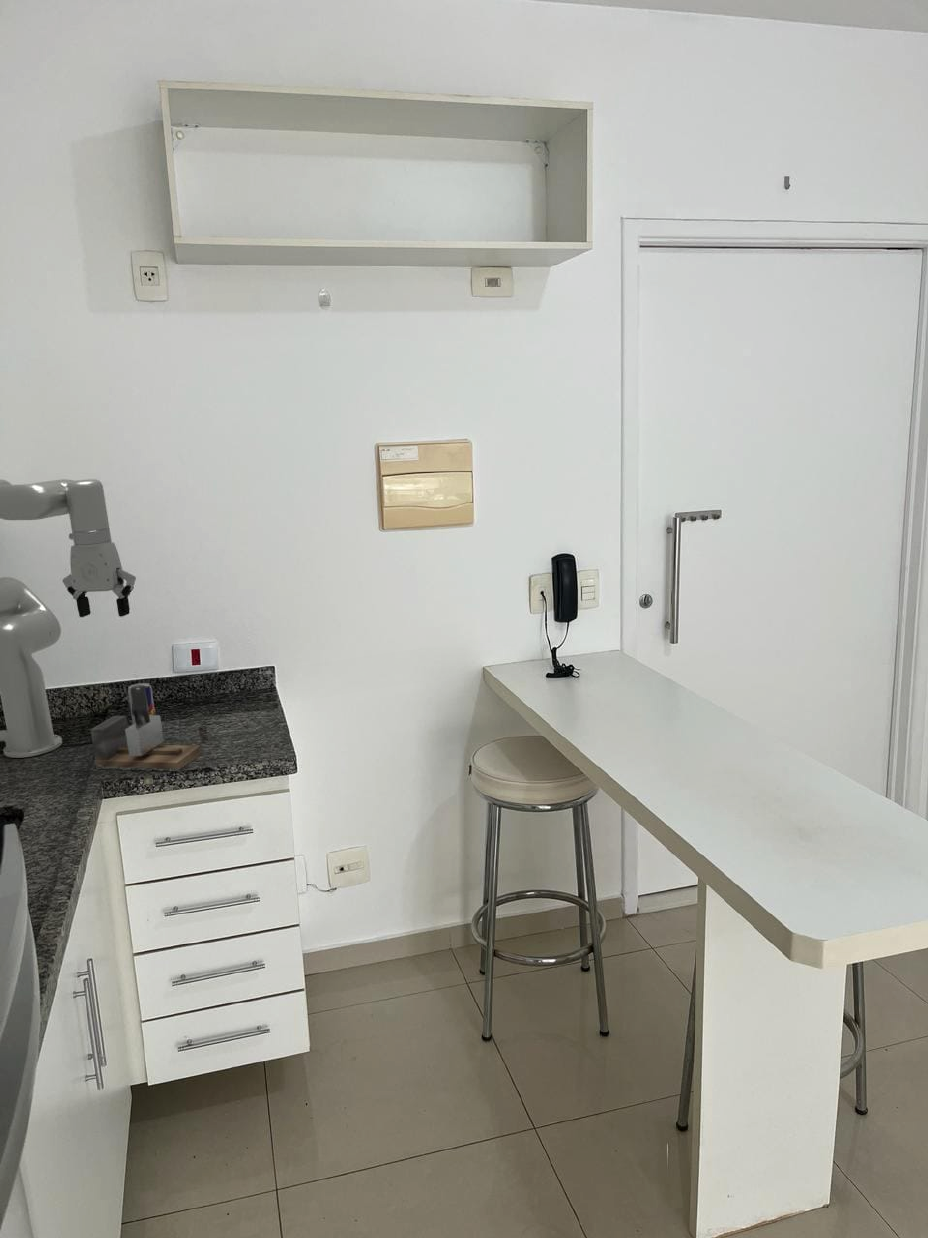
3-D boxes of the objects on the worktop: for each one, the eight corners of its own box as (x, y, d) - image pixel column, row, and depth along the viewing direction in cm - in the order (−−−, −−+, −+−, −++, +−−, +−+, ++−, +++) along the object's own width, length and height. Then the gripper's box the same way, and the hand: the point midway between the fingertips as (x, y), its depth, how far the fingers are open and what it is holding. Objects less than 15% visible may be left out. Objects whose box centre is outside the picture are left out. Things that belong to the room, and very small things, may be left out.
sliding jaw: (129, 755, 202) (119, 693, 199) (151, 740, 211) (142, 680, 207) (141, 755, 201) (132, 693, 198) (163, 740, 210) (154, 681, 207)
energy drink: (150, 737, 222) (143, 689, 220) (130, 737, 223) (122, 689, 221) (162, 729, 227) (155, 682, 225) (142, 729, 229) (134, 682, 226)
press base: (95, 769, 204) (88, 730, 202) (121, 752, 214) (115, 714, 212) (178, 771, 200) (172, 731, 198) (201, 754, 209) (195, 715, 207)
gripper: (45, 542, 200) (59, 620, 204) (117, 539, 196) (130, 619, 199) (67, 536, 207) (80, 612, 211) (137, 533, 203) (149, 611, 207)
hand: (104, 615), depth 205 cm, fingers open, 9 cm apart
